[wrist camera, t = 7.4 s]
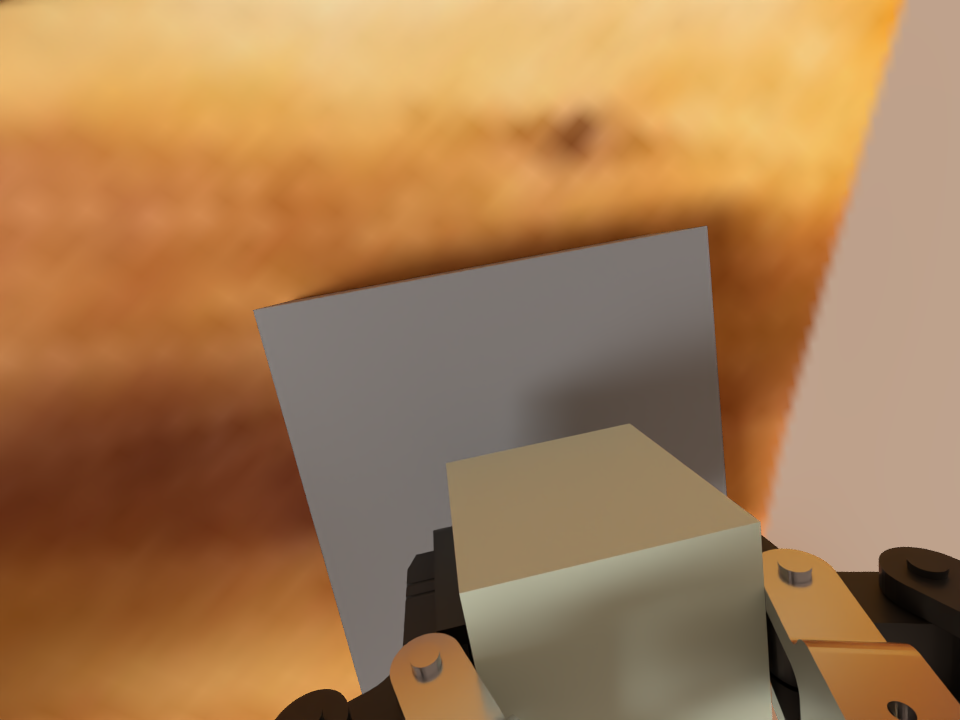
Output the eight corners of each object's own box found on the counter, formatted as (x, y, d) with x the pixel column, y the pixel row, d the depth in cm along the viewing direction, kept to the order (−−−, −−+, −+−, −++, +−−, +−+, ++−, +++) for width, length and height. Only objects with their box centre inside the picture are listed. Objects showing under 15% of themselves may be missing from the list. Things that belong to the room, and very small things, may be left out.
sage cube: (445, 462, 12) (459, 593, 7) (629, 423, 12) (760, 521, 8) (480, 625, 13) (511, 836, 8) (649, 585, 14) (774, 762, 9)
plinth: (291, 300, 17) (253, 310, 14) (647, 234, 19) (707, 225, 15) (375, 617, 20) (364, 700, 16) (678, 544, 22) (734, 605, 18)
